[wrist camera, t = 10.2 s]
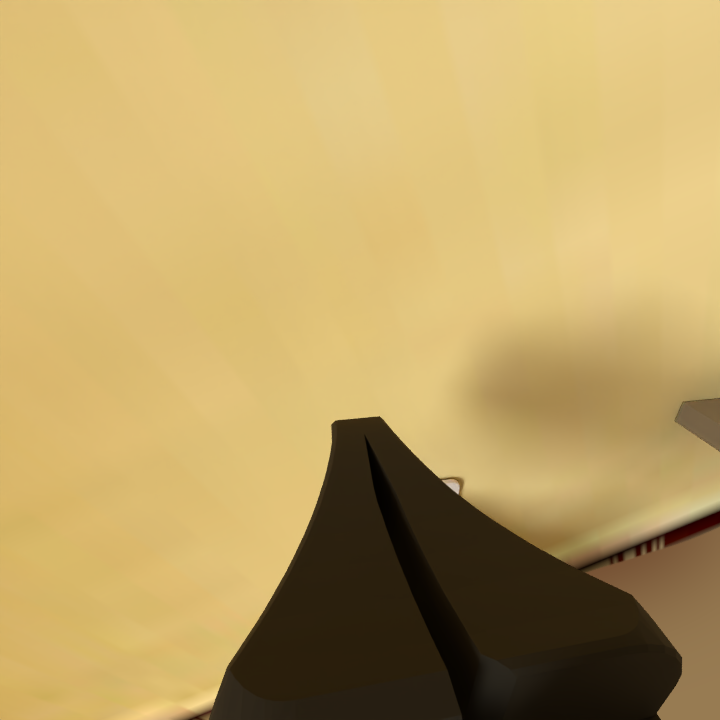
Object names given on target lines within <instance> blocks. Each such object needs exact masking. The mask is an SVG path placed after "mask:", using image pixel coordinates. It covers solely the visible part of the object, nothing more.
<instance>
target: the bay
mask: <svg viewBox="0 0 720 720" xmlns="http://www.w3.org/2000/svg"><path fill="white" fill-rule="evenodd" d="M675 422H677V423H678V424H680V425H681V426H683V427H684V428H686V429H687V430H689V431H690V432H692V433H693V434H695V435H696V436H698V437H699V438H700V439H702V440H703V441H705V442H706V443H708V444H709V445H711V446H712V447H714V448H715V449H717V450H718V451H720V398H718V399H709V400H699V401H689V402H683V403H682V406H681V408H680V410H679V413H678V415H677V417H676V419H675Z"/></svg>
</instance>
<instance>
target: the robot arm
mask: <svg viewBox="0 0 720 720" xmlns="http://www.w3.org/2000/svg"><path fill="white" fill-rule="evenodd" d="M331 426H332V446H331V453H330V458H329V462H328V467H327V471H326V475H325V479H324V482H323V485H322V488H321V492H320V495H319V498H318V501H317V504H316V507H315V509H314V512H313V515H312V517H311V520H310V522H309V525H308V527H307V529H306V532H305V534H304V536H303V538H302V540H301V543H300V545H299V547H298V549H297V551H296V553H295V555H294V557H293V559H292V561H291V563H290V565H289V567H288V569H287V571H286V573H285V575H284V577H283V578H282V580H281V582H280V584H279V585H278V587H277V589H276V591H275V592H274V594H273V596H272V598H271V599H270V601H269V603H268V605H267V606H266V608H265V610H264V611H263V613H262V615H261V616H260V618H259V620H258V621H257V623H256V624H255V626H254V627H253V629H252V630H251V632H250V633H249V635H248V636H247V638H246V639H245V641H244V642H243V644H242V645H241V647H240V648H239V650H238V651H237V653H236V654H235V656H234V657H233V659H232V660H231V662H230V663H229V665H228V667H227V669H226V672H225V675H224V677H223V680H222V683H221V686H220V688H219V691H218V694H217V697H216V699H215V702H214V705H213V709H212V712H211V715H210V718H209V720H661V719H660V718H659V716H658V715H657V711H658V710H659V709H660V707H661V706H662V704H663V703H664V702H665V700H666V699H667V697H668V696H669V694H670V693H671V692H672V690H673V689H674V687H675V686H676V684H677V682H678V680H679V678H680V676H681V674H682V657H681V656H680V654H679V653H678V652H677V650H676V649H675V648H674V646H673V645H672V644H671V642H670V641H669V640H668V639H667V637H666V636H665V635H664V633H663V632H662V631H661V629H660V628H659V627H658V626H657V624H656V623H655V622H654V620H653V619H652V618H651V617H650V616H649V614H648V613H647V612H646V611H645V610H644V609H643V607H642V606H641V605H640V604H639V603H638V602H637V600H635V598H634V597H633V596H632V595H631V594H629V593H627V592H624V591H622V590H620V589H618V588H616V587H614V586H612V585H610V584H608V583H605V582H603V581H601V580H599V579H597V578H595V577H593V576H590V575H589V574H586V573H584V572H582V571H580V570H578V569H576V568H574V567H572V566H570V565H568V564H566V563H564V562H563V561H561V560H559V559H557V558H555V557H553V556H552V555H550V554H548V553H546V552H544V551H542V550H540V549H539V548H537V547H535V546H534V545H532V544H530V543H528V542H527V541H525V540H523V539H522V538H520V537H518V536H517V535H515V534H514V533H512V532H511V531H509V530H507V529H506V528H504V527H503V526H501V525H500V524H498V523H496V522H495V521H493V520H492V519H491V518H489V517H488V516H486V515H485V514H483V513H482V512H480V511H479V510H478V509H476V508H475V507H474V506H472V505H471V504H470V503H468V502H467V501H466V500H464V499H463V498H462V497H461V496H459V490H460V485H459V483H458V481H457V480H455V479H449V480H441V479H440V478H438V477H437V476H436V475H435V474H434V473H433V472H432V471H431V470H430V469H429V468H428V467H427V466H426V465H425V464H424V463H422V462H421V461H420V460H419V459H418V458H417V457H416V456H415V455H414V454H413V453H412V452H411V450H410V449H409V448H408V447H407V446H406V445H405V444H404V443H403V442H402V441H401V440H400V439H399V438H398V436H397V435H396V434H395V433H394V432H393V431H392V430H391V428H390V427H389V426H388V425H387V424H386V423H385V421H384V420H383V419H382V418H381V417H368V418H358V419H348V420H337V421H335V422H334V423H333V424H332V425H331Z"/></svg>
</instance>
